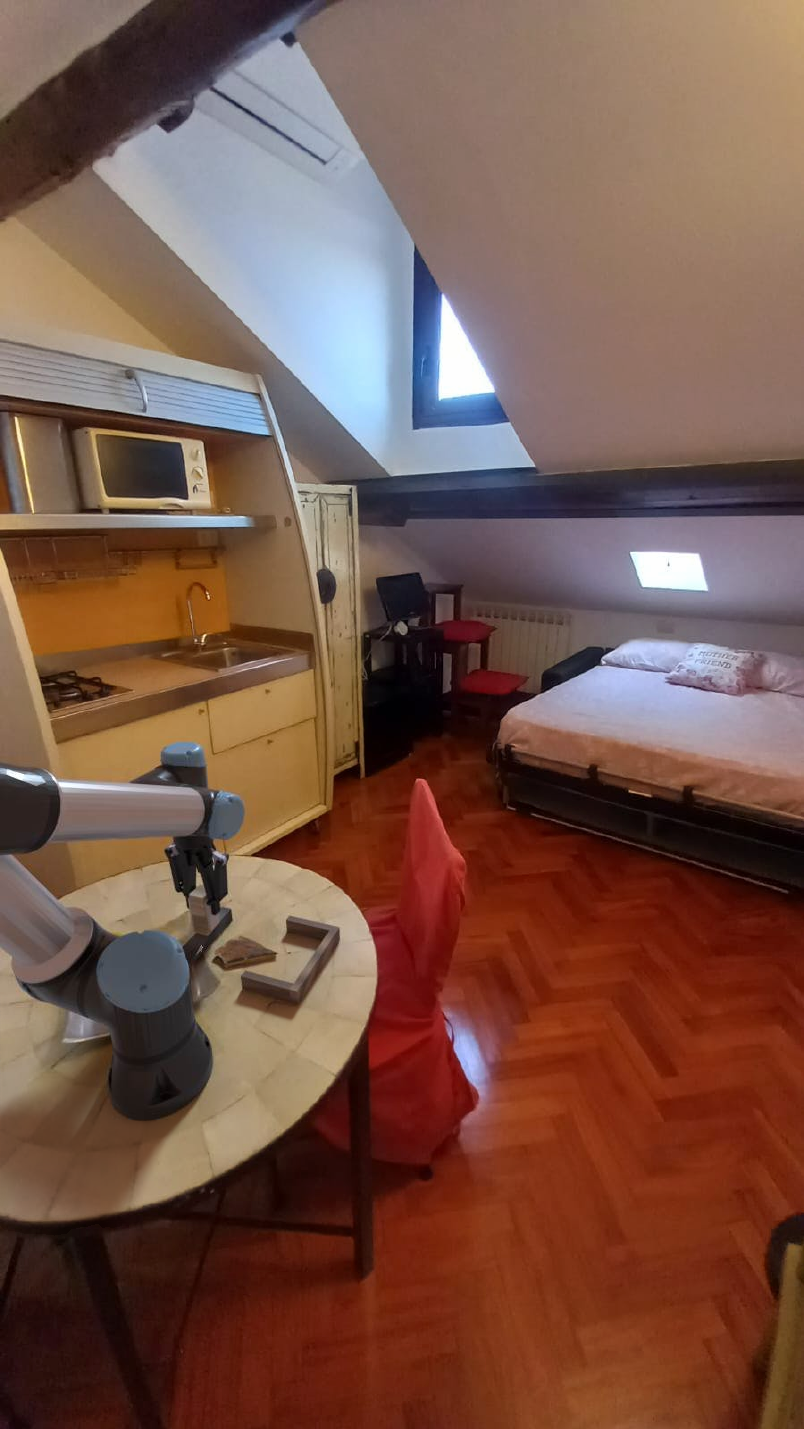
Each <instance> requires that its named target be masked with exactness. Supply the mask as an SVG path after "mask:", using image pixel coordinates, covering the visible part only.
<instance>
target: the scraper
mask: <svg viewBox="0 0 804 1429" xmlns="http://www.w3.org/2000/svg"><path fill="white" fill-rule="evenodd" d="M189 899H190V906H191V913H192V919H193V926H192V927H193V932H194V934H193V935H192V936H191V937H190V939H188V940H187V942H185V943H184V945H182V948H183V950H184V954H185V958H186V960H187V962H188V965H189V966H192V965H193V964H194V963H195V962H196V961H197V960H198V959H199V958H200V957H201V955H203V953H204V952H205V951H206V950H207V949H208V948H209V947H210V946H211V945H212V944H213V942H214V941H215V940H216V939H217V938H218V937H219V936H220V935H221V934H222V933H223V932H224V930H226V929H227V927H228V926H229V925H230V924H231V923H232V922H233V921H234V919H233V913H232V910H233V909H232V908H230V907H225V906H220V908H221V910H220V912H219V921H220V922H219V923H218V924H217V925H216V927H215V928H214V929H213V930H212V931H211V930H208V923H207V915H206V908H205V902H206V901H207V900H208V899H207V895H206V892H205V888H204V885H203V884H199V885H198V886H197V887H196V889H195V890H194V891H192V892H191V893H190V894H189ZM201 945H202V947H203V948H202V952H201V951H200V952H199V953H198V954H197V952H198V950H199V948H200V946H201ZM196 954H197V955H196Z"/></svg>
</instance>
